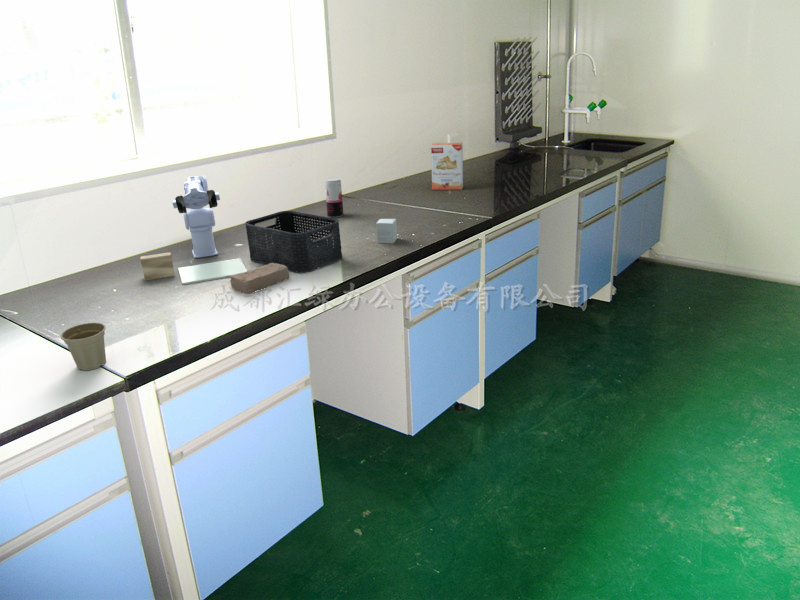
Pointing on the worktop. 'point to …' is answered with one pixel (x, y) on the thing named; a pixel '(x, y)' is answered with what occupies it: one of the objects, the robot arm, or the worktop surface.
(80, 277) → the worktop surface
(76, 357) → the flower pot
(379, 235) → the product box
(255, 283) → the brick
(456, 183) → the cracker box
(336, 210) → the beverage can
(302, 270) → the storage bin
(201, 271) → the mat
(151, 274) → the slab
